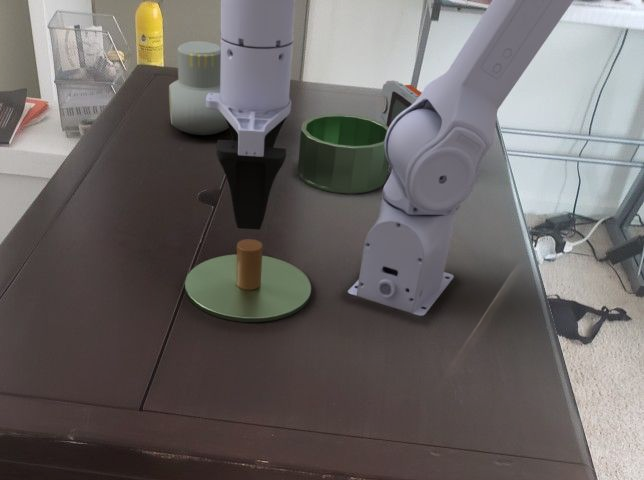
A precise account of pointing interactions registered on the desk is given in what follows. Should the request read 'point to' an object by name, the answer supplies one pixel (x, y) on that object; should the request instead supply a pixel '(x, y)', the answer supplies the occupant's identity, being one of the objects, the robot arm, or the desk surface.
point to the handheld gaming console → (395, 101)
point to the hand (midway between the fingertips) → (250, 208)
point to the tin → (343, 153)
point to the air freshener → (196, 89)
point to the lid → (248, 286)
